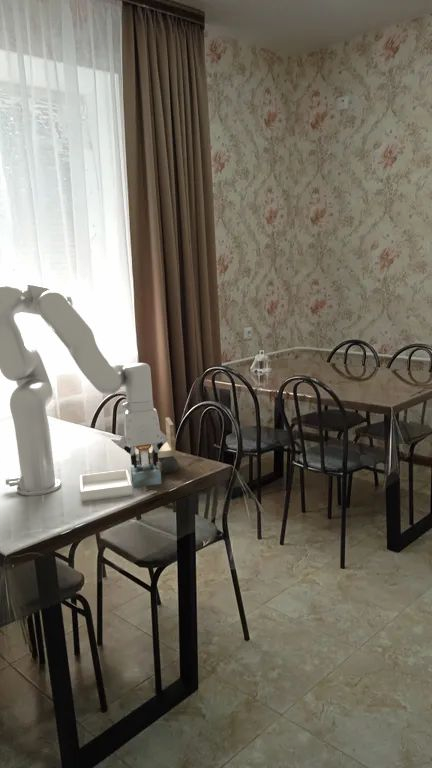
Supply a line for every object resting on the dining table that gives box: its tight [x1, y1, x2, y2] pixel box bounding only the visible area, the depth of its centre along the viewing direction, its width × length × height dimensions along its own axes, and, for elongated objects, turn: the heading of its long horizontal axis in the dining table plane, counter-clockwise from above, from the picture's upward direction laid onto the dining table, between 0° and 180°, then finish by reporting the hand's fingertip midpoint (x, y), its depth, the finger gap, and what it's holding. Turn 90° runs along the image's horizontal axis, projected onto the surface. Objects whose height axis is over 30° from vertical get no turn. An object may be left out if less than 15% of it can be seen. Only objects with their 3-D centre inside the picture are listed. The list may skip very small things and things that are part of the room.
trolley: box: [130, 417, 179, 488], centre depth 191 cm, size 14×19×15 cm
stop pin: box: [136, 445, 151, 472], centre depth 186 cm, size 4×4×12 cm
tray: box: [79, 469, 133, 503], centre depth 181 cm, size 14×14×3 cm
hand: (145, 465), depth 186 cm, fingers open, 5 cm apart
